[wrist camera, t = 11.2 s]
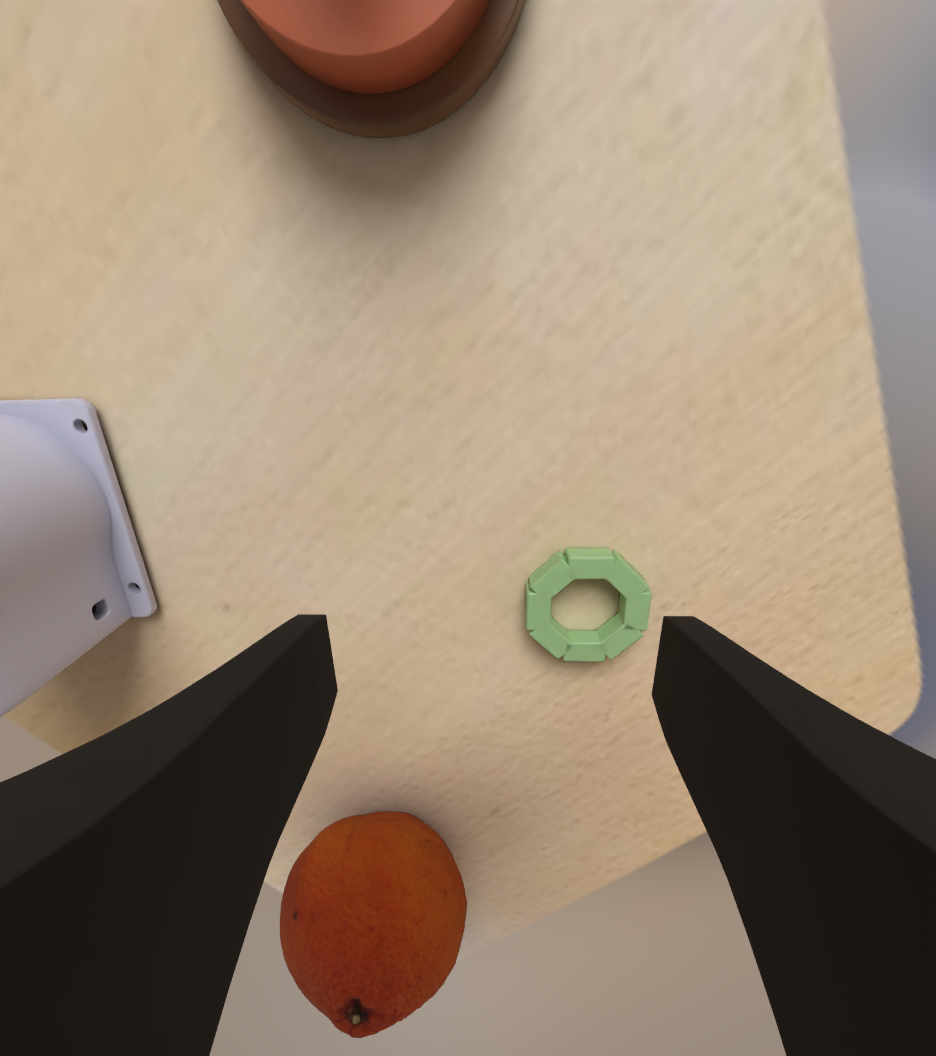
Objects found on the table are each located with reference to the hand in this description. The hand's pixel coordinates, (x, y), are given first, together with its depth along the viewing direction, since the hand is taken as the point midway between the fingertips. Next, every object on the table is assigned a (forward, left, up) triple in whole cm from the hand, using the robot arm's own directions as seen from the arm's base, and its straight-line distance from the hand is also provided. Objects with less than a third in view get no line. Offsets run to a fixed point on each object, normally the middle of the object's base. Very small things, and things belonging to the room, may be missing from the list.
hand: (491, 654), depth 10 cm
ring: (-4, -4, -10) cm, 11 cm away
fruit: (-19, +6, -10) cm, 23 cm away
